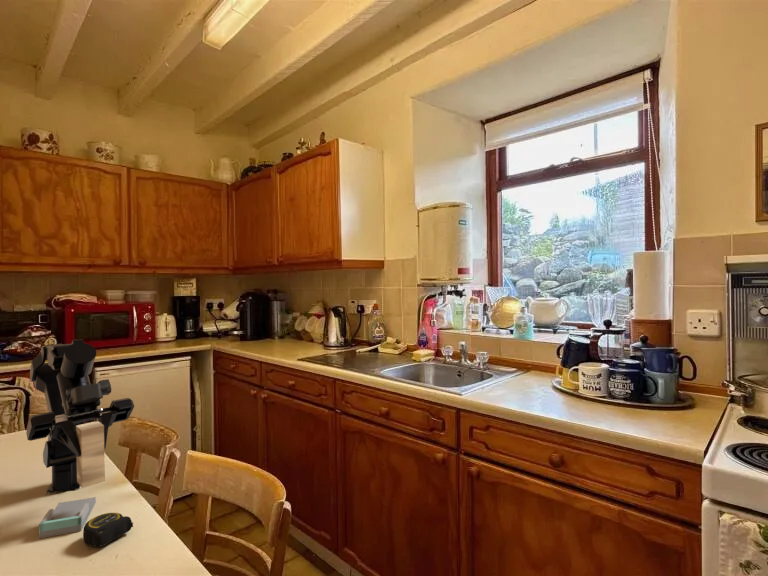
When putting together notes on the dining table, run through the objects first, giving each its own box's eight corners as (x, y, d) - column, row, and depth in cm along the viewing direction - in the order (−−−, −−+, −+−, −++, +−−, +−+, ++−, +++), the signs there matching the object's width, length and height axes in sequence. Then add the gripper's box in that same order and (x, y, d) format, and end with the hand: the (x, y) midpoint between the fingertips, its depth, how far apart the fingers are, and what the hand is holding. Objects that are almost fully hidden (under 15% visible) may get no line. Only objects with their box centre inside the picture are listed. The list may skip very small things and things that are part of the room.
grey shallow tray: (58, 508, 95) (58, 495, 95) (95, 502, 97) (95, 490, 97) (39, 538, 84) (39, 524, 84) (81, 530, 86) (81, 517, 86)
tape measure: (98, 554, 79) (98, 534, 79) (74, 544, 82) (74, 525, 82) (133, 534, 85) (133, 515, 85) (110, 526, 88) (110, 507, 88)
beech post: (77, 482, 92) (75, 425, 91) (98, 475, 95) (97, 420, 94) (82, 488, 89) (81, 430, 89) (105, 481, 92) (103, 425, 92)
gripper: (29, 375, 87) (43, 445, 80) (131, 362, 101) (150, 420, 94) (20, 407, 92) (33, 474, 85) (119, 390, 106) (136, 447, 100)
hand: (92, 452), depth 91 cm, fingers closed on beech post, 4 cm apart
